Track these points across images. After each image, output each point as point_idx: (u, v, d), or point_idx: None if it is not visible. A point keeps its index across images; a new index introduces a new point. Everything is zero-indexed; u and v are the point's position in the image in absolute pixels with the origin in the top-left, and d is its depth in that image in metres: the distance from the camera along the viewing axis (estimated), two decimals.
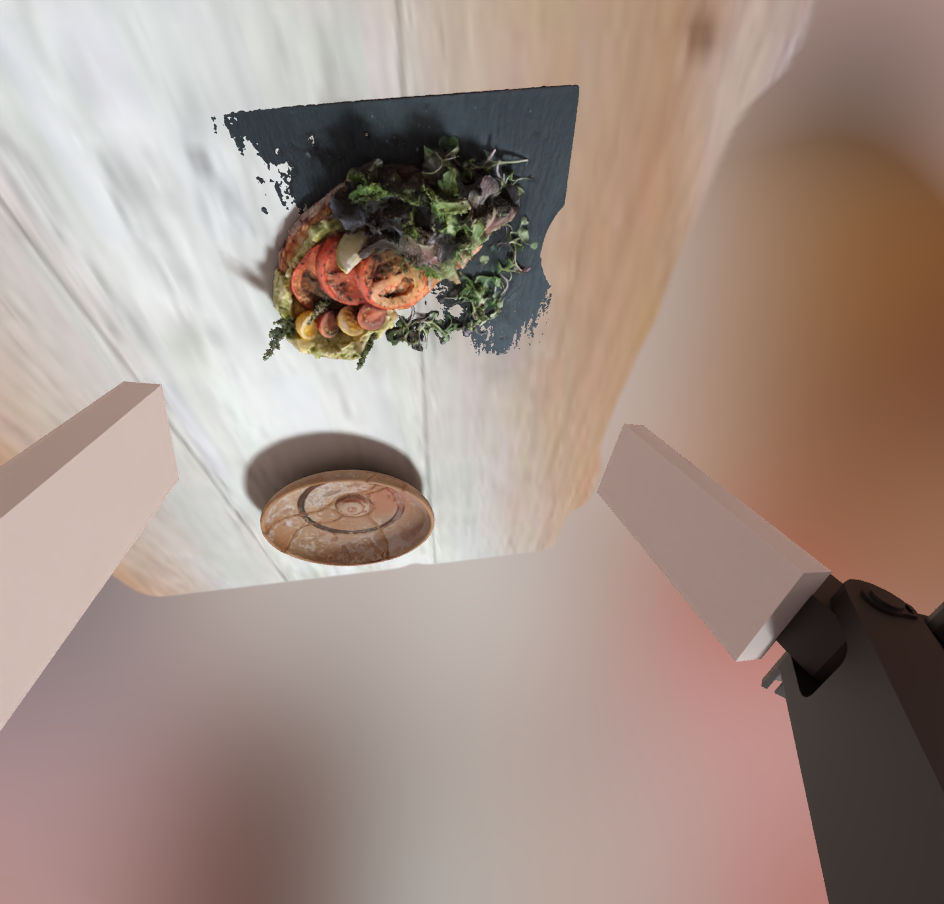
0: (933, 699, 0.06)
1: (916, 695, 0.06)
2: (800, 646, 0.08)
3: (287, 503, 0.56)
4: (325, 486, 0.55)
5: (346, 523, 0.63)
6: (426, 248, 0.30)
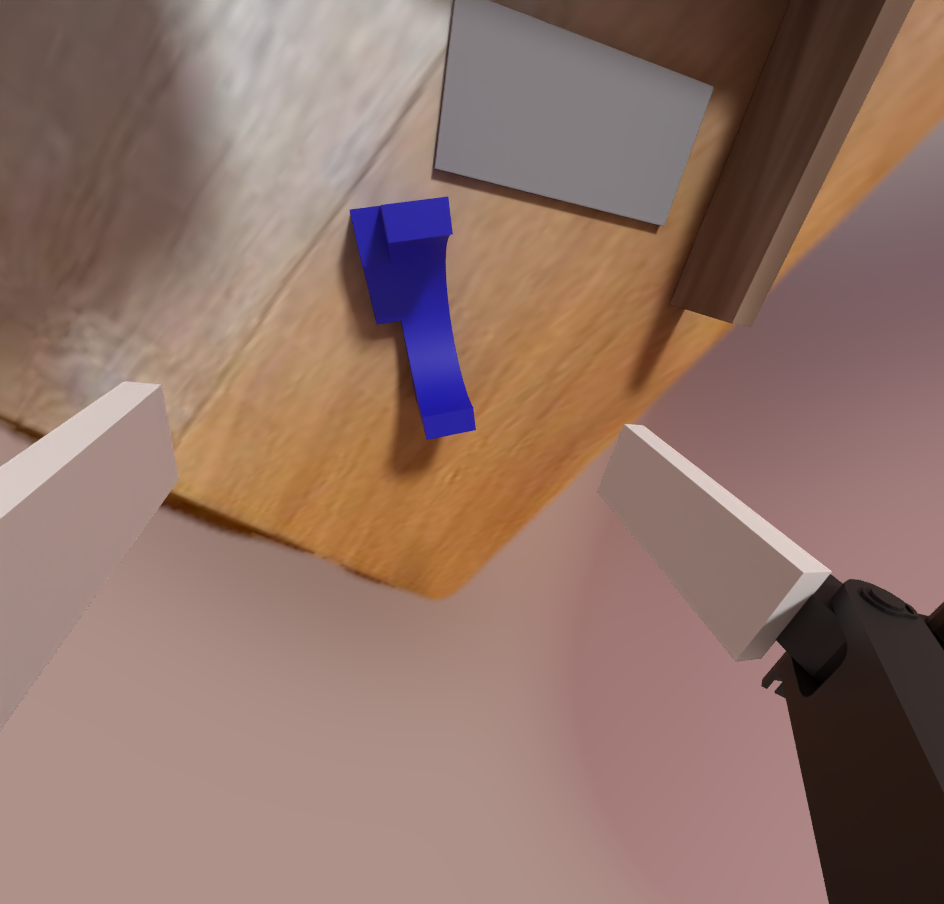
0: (933, 699, 0.06)
1: (916, 695, 0.06)
2: (800, 646, 0.08)
3: None
4: None
5: None
6: None
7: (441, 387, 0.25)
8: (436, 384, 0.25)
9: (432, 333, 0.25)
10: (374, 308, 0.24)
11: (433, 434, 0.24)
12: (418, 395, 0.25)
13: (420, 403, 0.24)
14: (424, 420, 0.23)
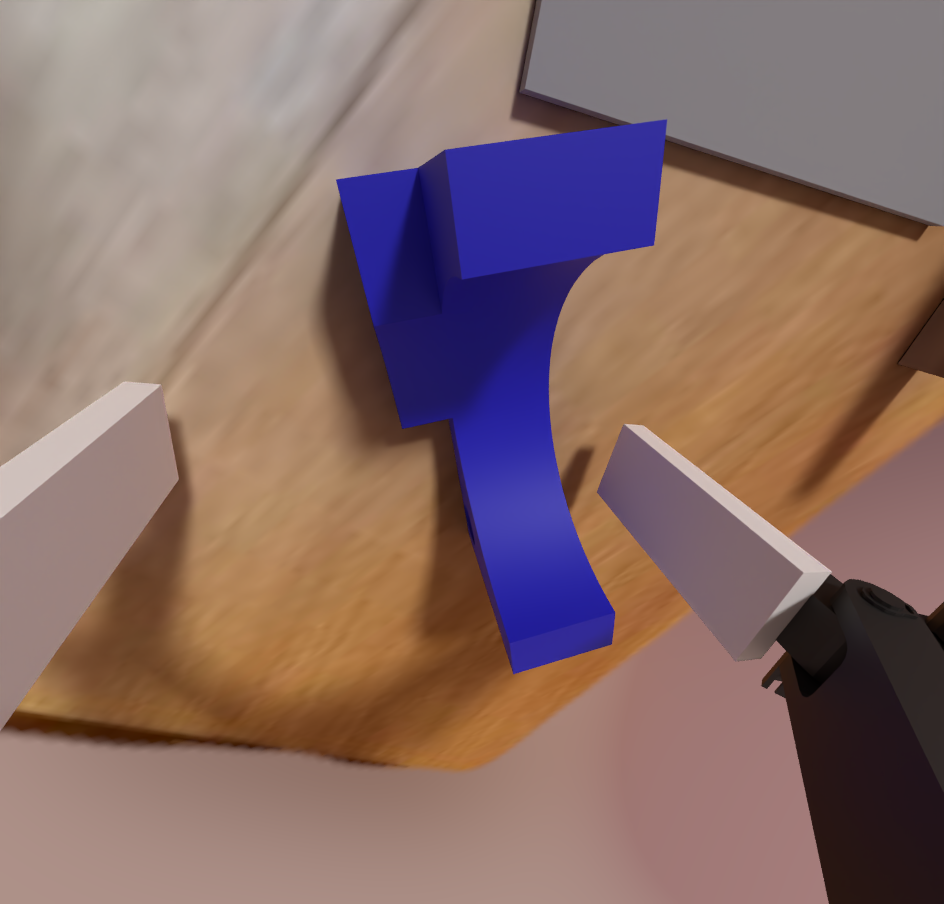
0: (933, 699, 0.06)
1: (916, 695, 0.06)
2: (800, 646, 0.08)
3: None
4: None
5: None
6: None
7: (535, 548, 0.12)
8: (524, 542, 0.13)
9: (512, 437, 0.13)
10: (398, 400, 0.11)
11: (528, 663, 0.11)
12: (490, 570, 0.12)
13: (497, 593, 0.12)
14: (513, 647, 0.11)
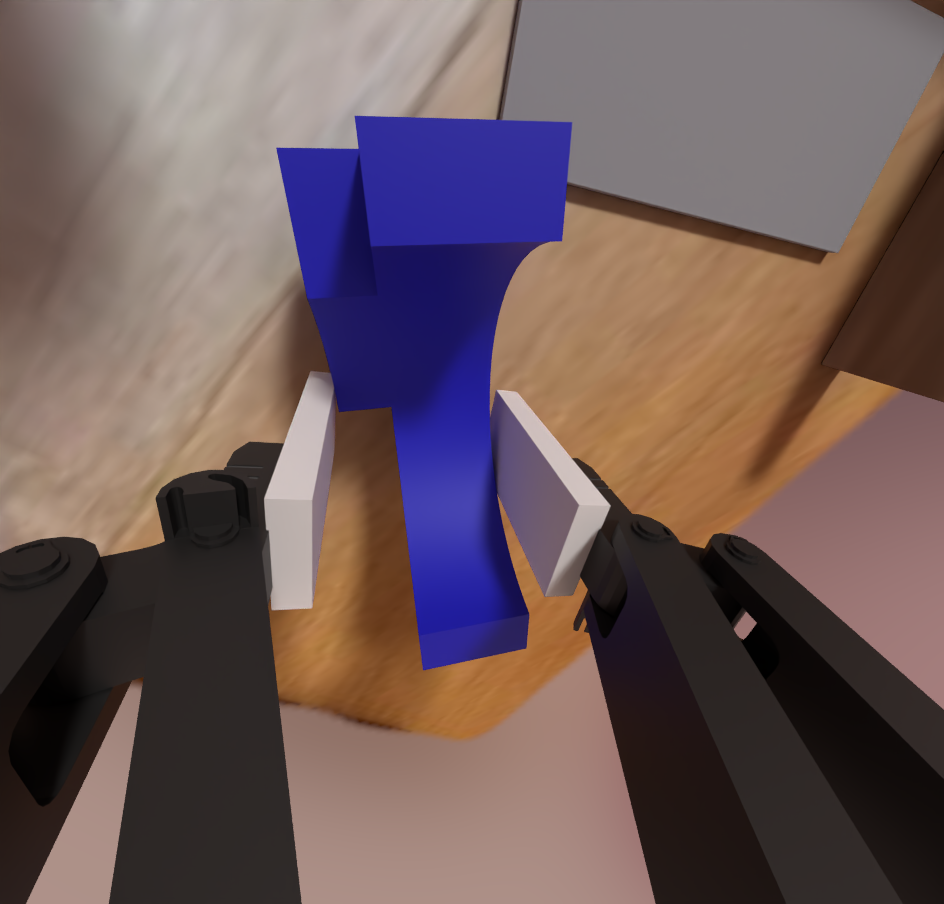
0: (691, 621, 0.06)
1: (679, 623, 0.06)
2: (595, 588, 0.09)
3: None
4: None
5: None
6: None
7: (461, 546, 0.12)
8: (452, 539, 0.12)
9: (451, 433, 0.13)
10: (335, 381, 0.11)
11: (438, 660, 0.11)
12: (413, 563, 0.12)
13: (416, 586, 0.12)
14: (422, 640, 0.11)
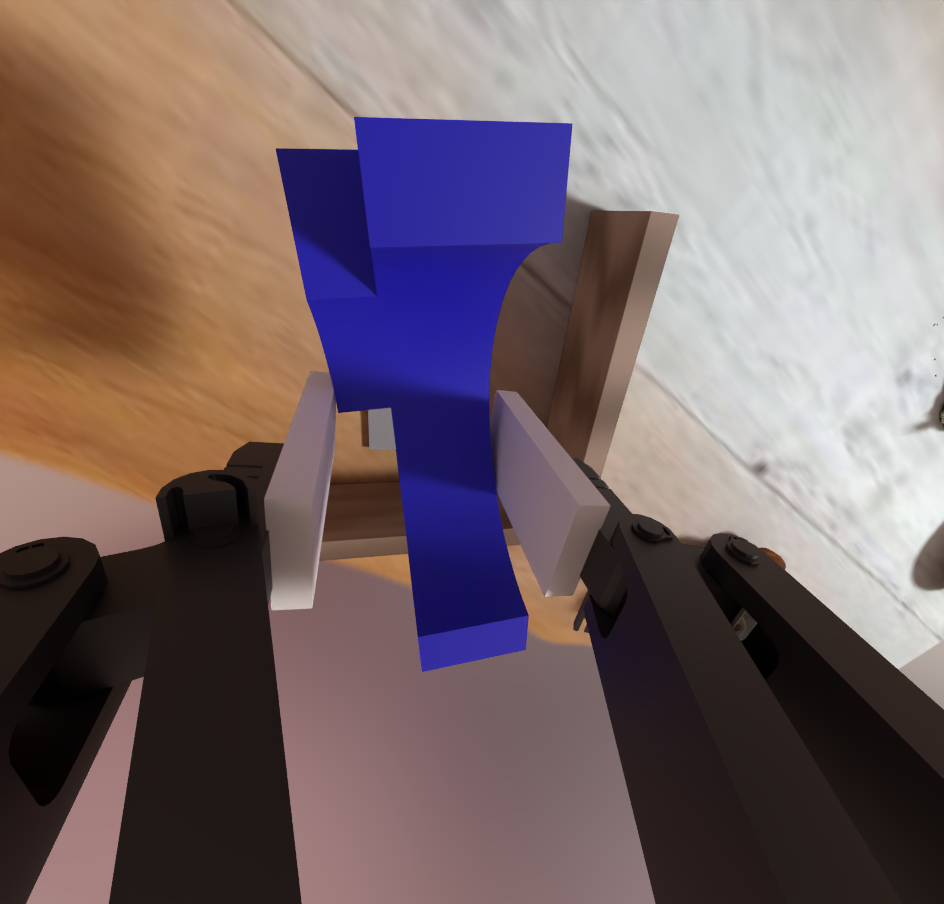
0: (691, 621, 0.06)
1: (679, 623, 0.06)
2: (595, 588, 0.09)
3: None
4: None
5: None
6: None
7: (461, 547, 0.12)
8: (451, 540, 0.12)
9: (450, 434, 0.13)
10: (335, 382, 0.11)
11: (438, 661, 0.11)
12: (412, 564, 0.12)
13: (415, 587, 0.12)
14: (421, 642, 0.11)
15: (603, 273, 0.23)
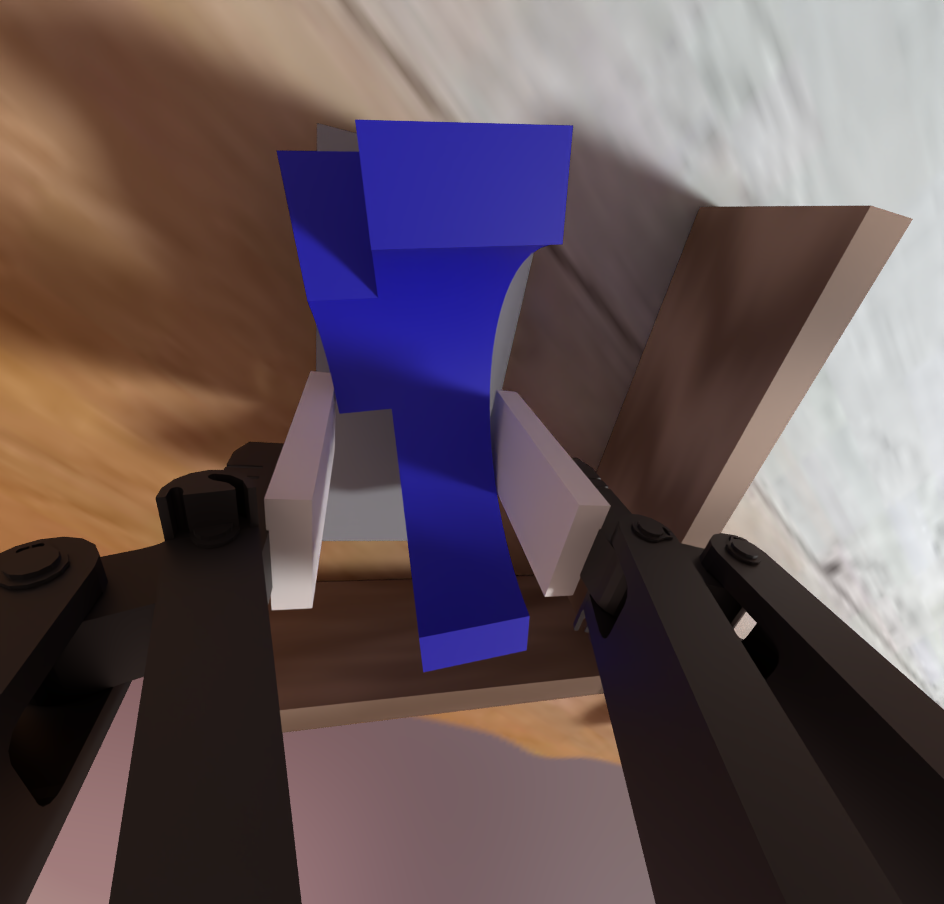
0: (691, 621, 0.06)
1: (679, 623, 0.06)
2: (595, 588, 0.09)
3: None
4: None
5: None
6: None
7: (462, 548, 0.12)
8: (452, 541, 0.12)
9: (451, 435, 0.13)
10: (335, 383, 0.11)
11: (439, 662, 0.11)
12: (413, 565, 0.12)
13: (416, 588, 0.12)
14: (422, 642, 0.11)
15: (720, 309, 0.14)
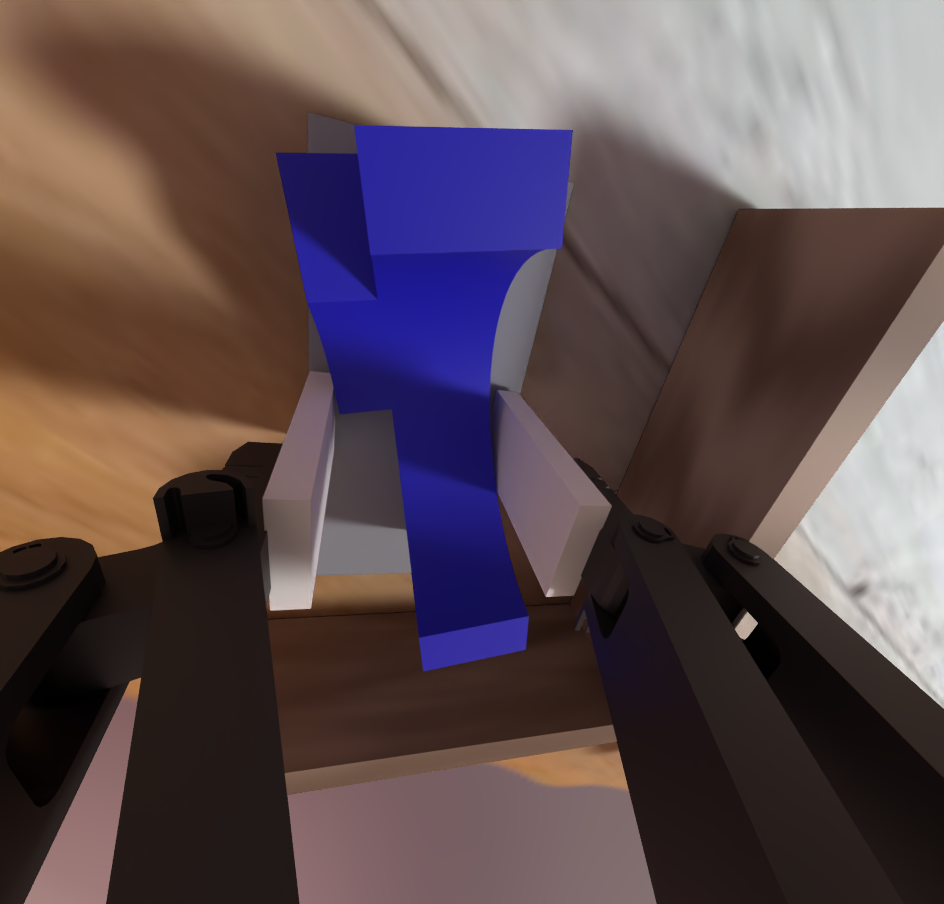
0: (692, 621, 0.06)
1: (680, 623, 0.06)
2: (596, 588, 0.09)
3: None
4: None
5: None
6: None
7: (461, 548, 0.12)
8: (452, 541, 0.13)
9: (451, 435, 0.13)
10: (336, 384, 0.11)
11: (438, 661, 0.11)
12: (413, 565, 0.12)
13: (416, 587, 0.12)
14: (422, 642, 0.11)
15: (766, 324, 0.12)
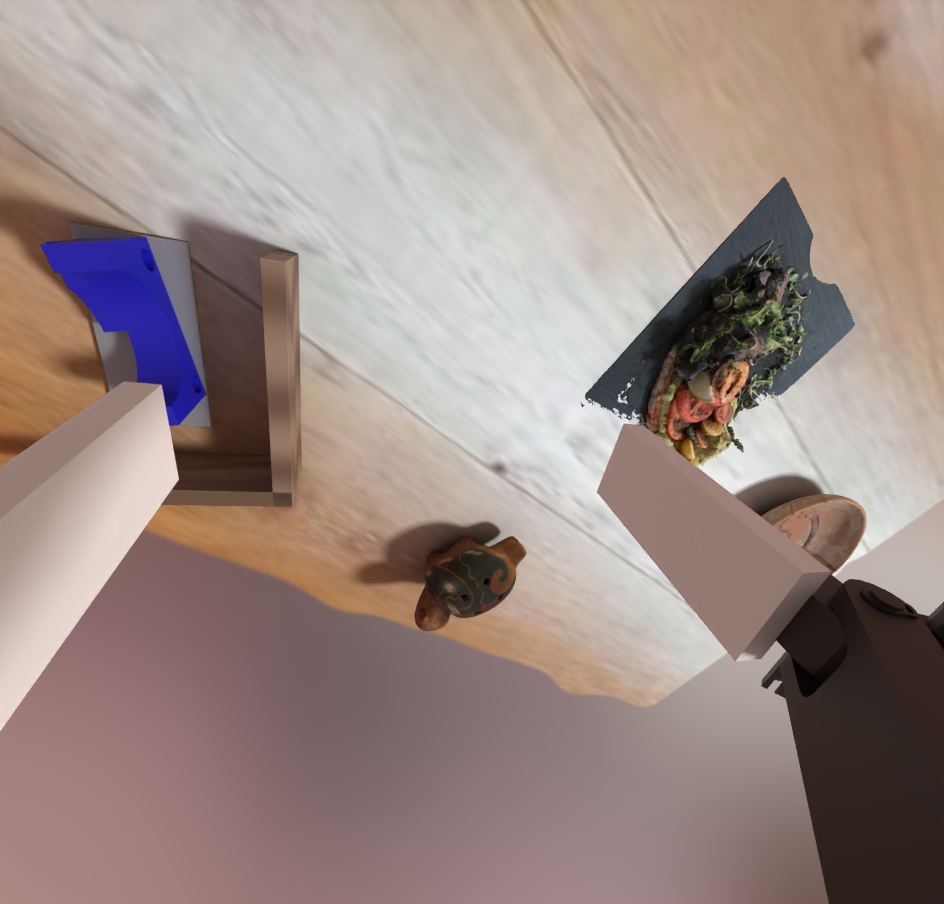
0: (933, 699, 0.06)
1: (916, 695, 0.06)
2: (800, 646, 0.08)
3: None
4: None
5: None
6: (755, 346, 0.40)
7: None
8: None
9: (157, 343, 0.31)
10: (98, 319, 0.29)
11: None
12: None
13: None
14: None
15: None
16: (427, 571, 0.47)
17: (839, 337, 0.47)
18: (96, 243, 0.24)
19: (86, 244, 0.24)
